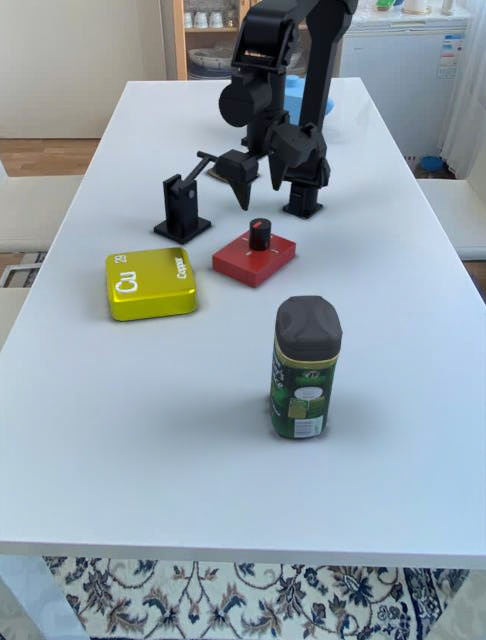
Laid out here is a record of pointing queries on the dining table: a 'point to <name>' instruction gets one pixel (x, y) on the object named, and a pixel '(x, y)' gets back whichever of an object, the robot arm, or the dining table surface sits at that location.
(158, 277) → the element tile
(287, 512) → the dining table surface
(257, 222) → the knob
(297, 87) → the teakettle
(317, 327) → the coffee jar
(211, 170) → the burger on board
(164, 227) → the lever bracket
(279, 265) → the dial panel
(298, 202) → the robot arm
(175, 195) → the black lever handle
